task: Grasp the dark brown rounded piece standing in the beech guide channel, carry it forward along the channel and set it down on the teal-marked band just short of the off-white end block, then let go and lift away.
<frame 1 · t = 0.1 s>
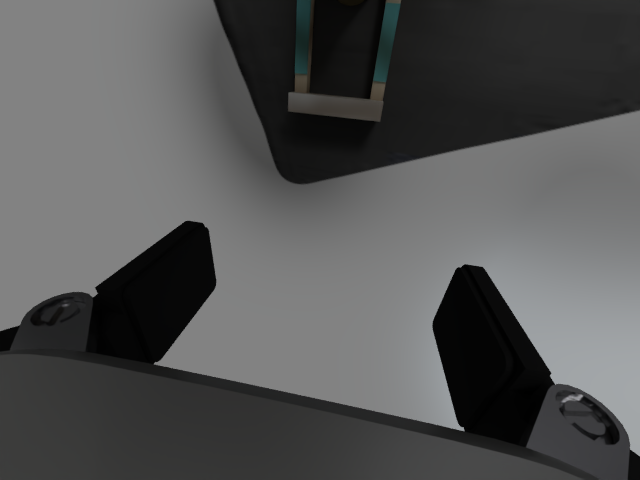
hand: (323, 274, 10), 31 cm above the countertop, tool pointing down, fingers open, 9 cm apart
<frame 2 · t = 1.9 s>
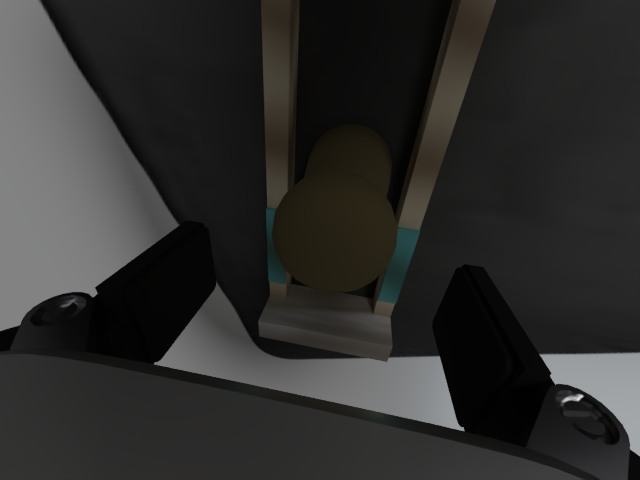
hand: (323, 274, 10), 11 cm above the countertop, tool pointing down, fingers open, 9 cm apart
dark brown rounded piece: (349, 167, 19), resting in guide channel
guide channel: (351, 154, 18), on the countertop
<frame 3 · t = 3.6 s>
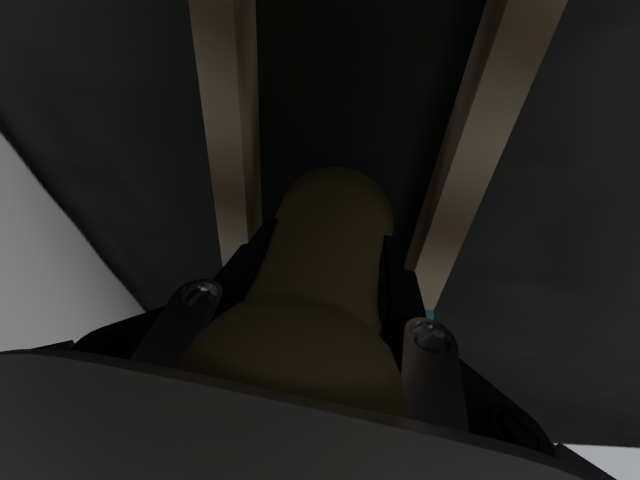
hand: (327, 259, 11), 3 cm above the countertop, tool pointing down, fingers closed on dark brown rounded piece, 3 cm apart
dark brown rounded piece: (334, 222, 14), resting in guide channel, touching gripper
guide channel: (337, 205, 13), on the countertop
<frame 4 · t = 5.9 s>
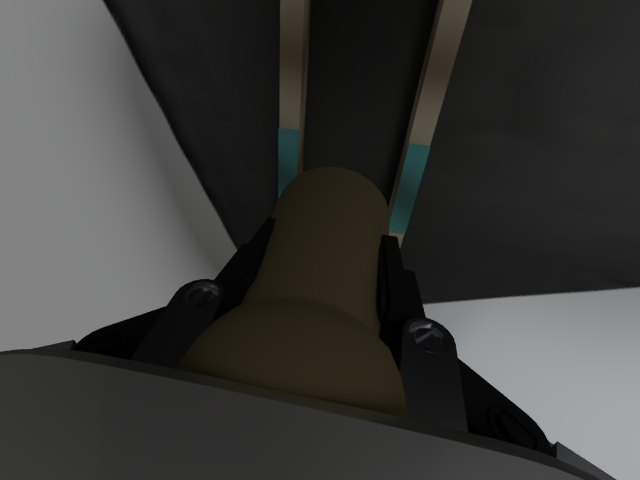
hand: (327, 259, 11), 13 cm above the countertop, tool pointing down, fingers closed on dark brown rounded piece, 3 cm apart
dark brown rounded piece: (331, 222, 14), point 10 cm above the countertop, touching gripper
guide channel: (362, 72, 19), on the countertop
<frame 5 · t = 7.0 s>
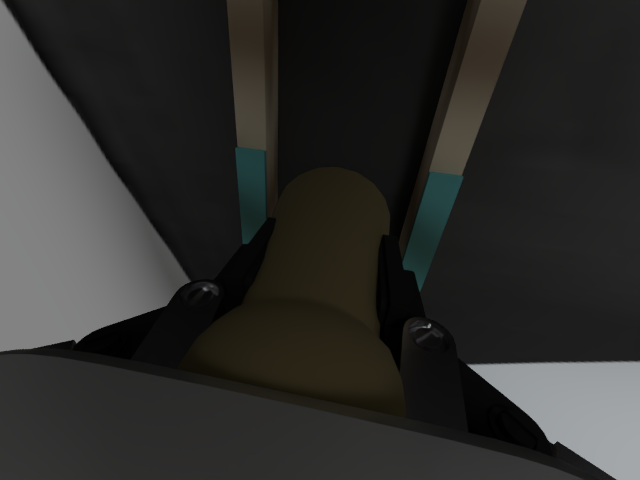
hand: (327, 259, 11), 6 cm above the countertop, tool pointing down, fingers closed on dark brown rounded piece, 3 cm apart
dark brown rounded piece: (331, 222, 14), point 3 cm above the countertop, touching gripper
guide channel: (359, 65, 12), on the countertop
when the fingers open (5 cm above the countertop, at t = 8.0 s): dark brown rounded piece drops 1 cm, resting in guide channel.
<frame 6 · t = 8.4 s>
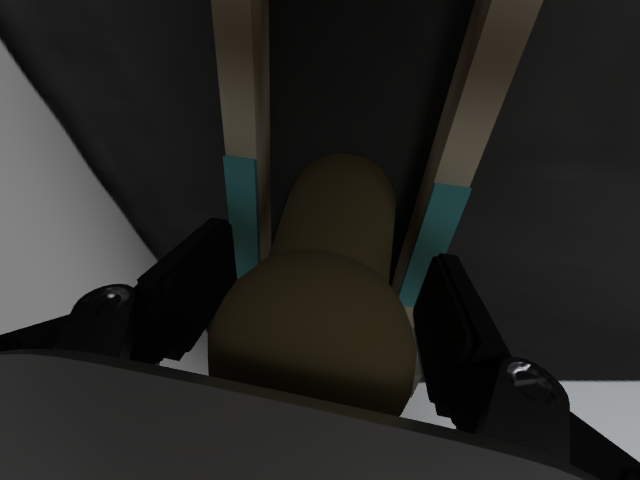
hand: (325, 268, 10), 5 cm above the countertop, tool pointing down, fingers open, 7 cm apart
dark brown rounded piece: (341, 206, 15), resting in guide channel
guide channel: (358, 66, 11), on the countertop
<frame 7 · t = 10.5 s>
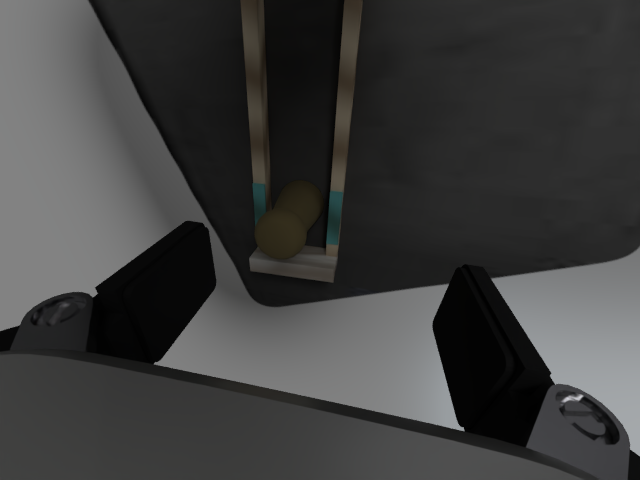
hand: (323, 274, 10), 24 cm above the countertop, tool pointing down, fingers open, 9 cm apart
dark brown rounded piece: (301, 202, 35), resting in guide channel
guide channel: (301, 149, 31), on the countertop
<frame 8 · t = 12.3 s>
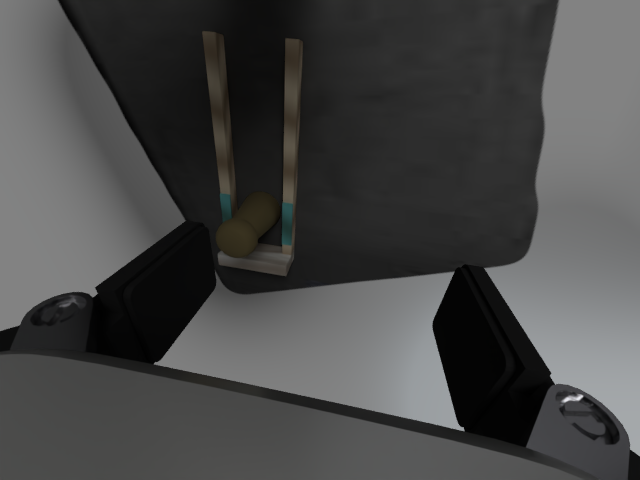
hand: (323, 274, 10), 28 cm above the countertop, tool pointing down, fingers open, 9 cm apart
dark brown rounded piece: (262, 209, 42), resting in guide channel
guide channel: (260, 167, 38), on the countertop
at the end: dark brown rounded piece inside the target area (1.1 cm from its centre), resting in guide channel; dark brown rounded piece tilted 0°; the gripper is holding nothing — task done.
